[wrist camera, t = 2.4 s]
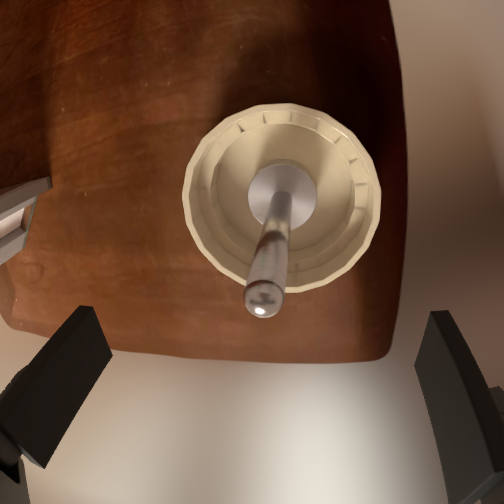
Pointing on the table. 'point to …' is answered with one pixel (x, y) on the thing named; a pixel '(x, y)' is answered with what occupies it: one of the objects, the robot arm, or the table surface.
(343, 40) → the table surface
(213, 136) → the mixing bowl
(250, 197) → the rod with disc base
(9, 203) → the cabinet
